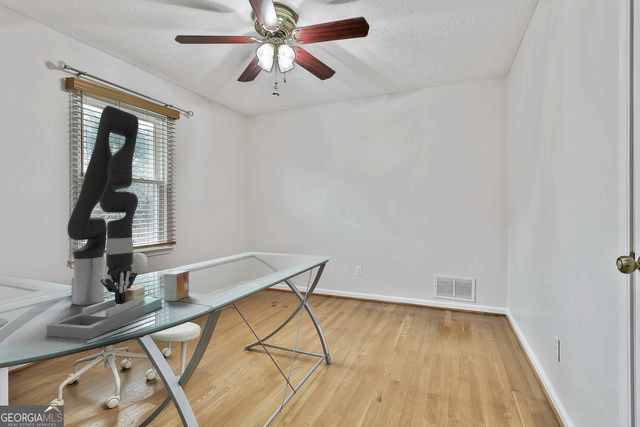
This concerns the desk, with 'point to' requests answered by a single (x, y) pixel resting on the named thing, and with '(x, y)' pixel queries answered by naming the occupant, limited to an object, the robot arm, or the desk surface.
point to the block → (135, 294)
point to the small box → (176, 285)
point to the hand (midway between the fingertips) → (120, 303)
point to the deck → (101, 318)
